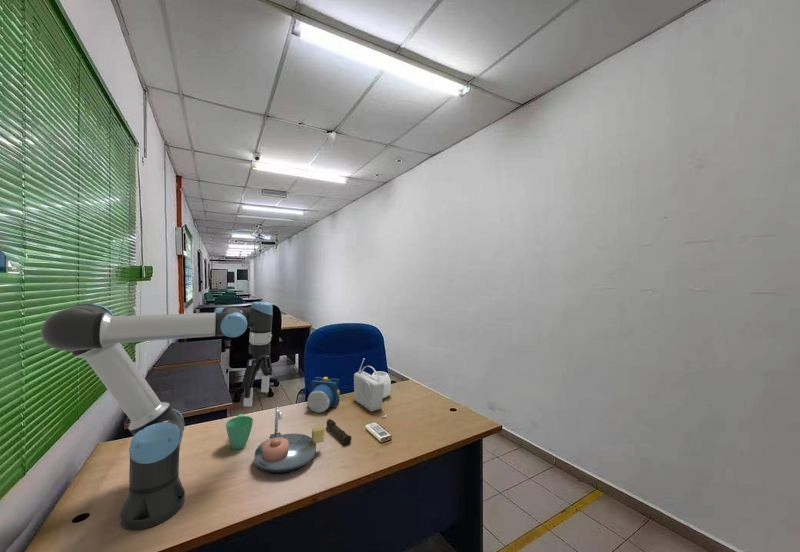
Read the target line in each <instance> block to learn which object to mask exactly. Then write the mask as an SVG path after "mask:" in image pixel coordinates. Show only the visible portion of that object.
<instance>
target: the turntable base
mask: <svg viewBox="0 0 800 552" xmlns="http://www.w3.org/2000/svg"><path fill="white" fill-rule="evenodd" d="M307 465H308V463H307V464H305V465H303V466H301V467H299V468H296V469H293V470H290V471H284V472H270V471H265V470H262V471H263V472H264V473H267V474H269V475H274V476H283V475H288V474H292V473H295V472H297V471H299V470H301V469H303V468H304V467H305V466H307Z"/></svg>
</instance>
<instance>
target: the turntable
mask: <svg viewBox="0 0 800 552" xmlns="http://www.w3.org/2000/svg"><path fill="white" fill-rule="evenodd" d="M276 437H278V438H285V439H287V440H288V442H289V444H288V455H287V456H286V457H285V458H284V459H282V460H280V461H277V462H266V461H264V460H263V459H262V445H263V444H264V442H266V441H267V440H270V439H273V438H276ZM273 438H270V437H269V438H267V439H266V440H265V441H263V442H262V443H260V444H259V445H258V446H257V448H256V449H255V451H254V464H255V465H256V467H258V468H259V469H261V470H262V471H263V470H265V471H270V472H284V471H290V470H293V469H296V468H299V467H301V466H303V465H305V464H307V465H308V464H309V462H310V461H312V460H313V458H314V457H315V455H316V453H317V444H320V443H324V441H325V429H324V427H323V426H322V425H321V426H315V427H312V428H311V436H308V435H307V434H303V433H284V434H281V435H279V436H275V437H273ZM305 466H306V465H305Z"/></svg>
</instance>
